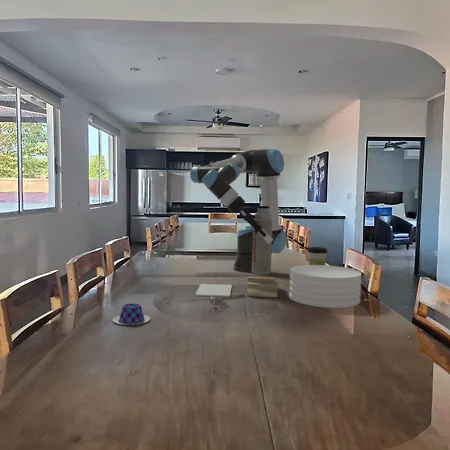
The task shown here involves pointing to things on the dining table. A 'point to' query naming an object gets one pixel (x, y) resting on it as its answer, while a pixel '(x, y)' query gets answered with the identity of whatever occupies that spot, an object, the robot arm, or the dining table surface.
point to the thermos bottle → (262, 243)
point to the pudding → (131, 315)
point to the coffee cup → (317, 255)
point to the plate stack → (325, 286)
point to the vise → (264, 287)
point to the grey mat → (214, 290)
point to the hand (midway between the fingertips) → (270, 240)
